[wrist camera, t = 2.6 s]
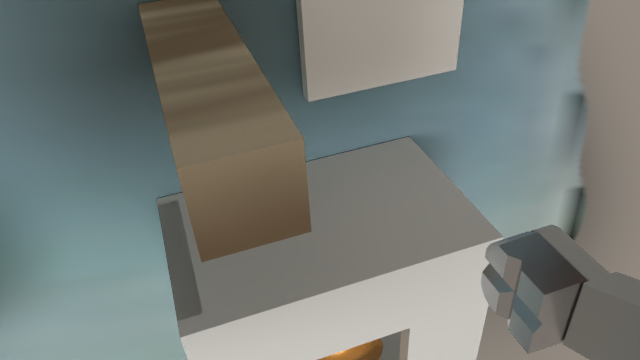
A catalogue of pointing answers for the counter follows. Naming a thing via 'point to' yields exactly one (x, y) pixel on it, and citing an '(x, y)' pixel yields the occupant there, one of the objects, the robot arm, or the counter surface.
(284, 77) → the counter surface
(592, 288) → the robot arm
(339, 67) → the tile
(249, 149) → the rectangular block
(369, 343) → the orange ball
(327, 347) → the box
